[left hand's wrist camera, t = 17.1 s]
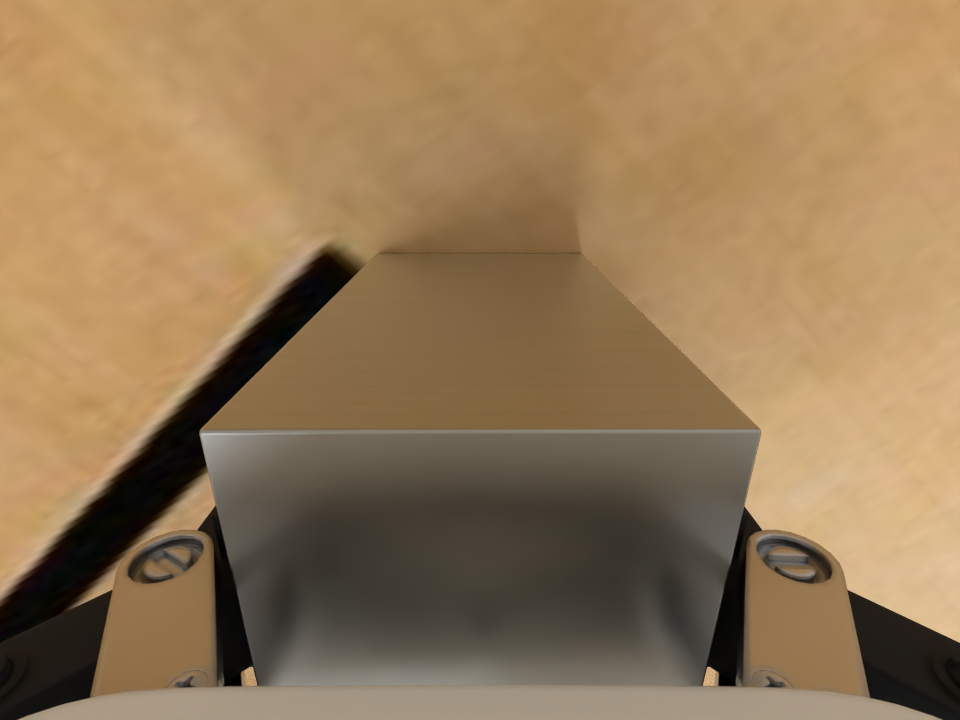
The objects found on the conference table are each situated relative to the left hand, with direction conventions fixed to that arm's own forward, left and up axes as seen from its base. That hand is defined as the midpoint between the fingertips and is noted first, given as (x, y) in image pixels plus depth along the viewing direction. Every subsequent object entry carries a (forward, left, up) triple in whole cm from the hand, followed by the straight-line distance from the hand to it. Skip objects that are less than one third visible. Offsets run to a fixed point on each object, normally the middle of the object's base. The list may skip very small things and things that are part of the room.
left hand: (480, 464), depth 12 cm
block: (0, 0, -7) cm, 7 cm away
